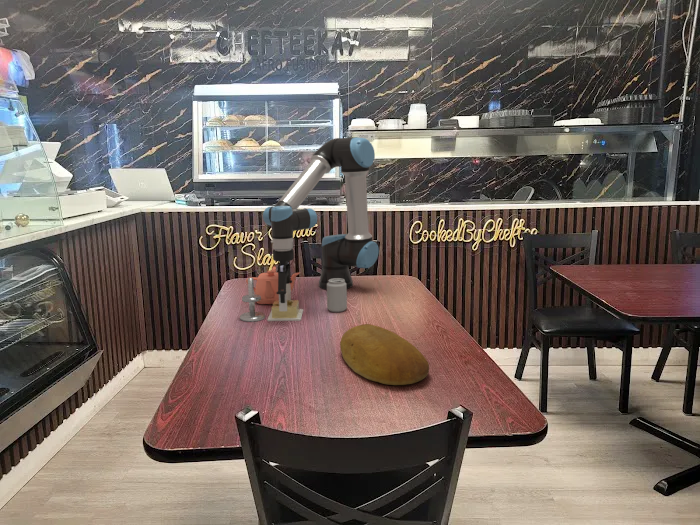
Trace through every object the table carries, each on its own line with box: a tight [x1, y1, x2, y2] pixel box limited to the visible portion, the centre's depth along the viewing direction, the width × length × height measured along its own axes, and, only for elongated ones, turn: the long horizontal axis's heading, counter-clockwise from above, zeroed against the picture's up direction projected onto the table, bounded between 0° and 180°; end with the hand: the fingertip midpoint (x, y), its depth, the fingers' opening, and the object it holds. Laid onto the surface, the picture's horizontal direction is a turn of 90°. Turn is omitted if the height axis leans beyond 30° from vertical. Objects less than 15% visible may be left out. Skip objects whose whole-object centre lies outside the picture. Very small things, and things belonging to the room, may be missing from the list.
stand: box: [239, 277, 266, 323], centre depth 192 cm, size 9×9×15 cm
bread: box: [339, 323, 430, 386], centre depth 149 cm, size 18×35×10 cm, turn 29°
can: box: [326, 278, 348, 313], centre depth 200 cm, size 8×8×12 cm
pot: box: [245, 266, 301, 305], centre depth 215 cm, size 18×17×12 cm
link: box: [271, 299, 300, 318], centre depth 195 cm, size 9×9×4 cm
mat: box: [267, 308, 304, 322], centre depth 196 cm, size 12×12×1 cm
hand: (285, 305), depth 195 cm, fingers open, 13 cm apart
